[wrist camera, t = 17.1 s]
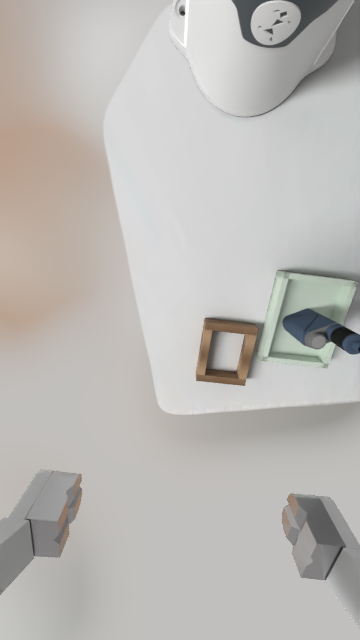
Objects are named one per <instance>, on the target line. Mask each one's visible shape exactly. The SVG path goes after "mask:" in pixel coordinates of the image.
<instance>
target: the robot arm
mask: <svg viewBox="0 0 360 640" xmlns="http://www.w3.org/2000/svg"><path fill="white" fill-rule="evenodd" d="M354 1H355V0H174V1H173V6H172V10H171V14H170V19H169V35H170V38H171V40H172V41H173V43H174V44H175V46H176V47H177V48H178V49H179V50H180V51H181V52H182V53H183V55H184V56H185V57H186V58H187V60H188V62H189V64H190V66H191V69H192V72H193V74H194V77H195V79H196V82H197V84H198V86H199V87H200V89H201V91H202V92H203V93H204V95H205V96H206V97H207V99H208V100H209V101H210V102H211V103H212V104H214V105H215V106H216V107H217V108H219V109H220V110H222V111H224V112H226V113H229V114H232V115H235V116H242V117H248V116H256V115H260V114H263V113H265V112H268V111H270V110H271V109H273V108H275V107H276V106H278V105H279V104H280V103H282V102H283V101H284V100H285V99H286V98H287V97H288V96H289V95H290V94H291V93H292V91H293V90H294V89H295V88H296V86H297V85H298V84H299V83H300V81H301V80H302V79H303V78H304V77H305V76H306V75H308V74H310V73H312V72H313V71H315V70H317V69H318V68H320V67H321V66H322V65H324V64H325V63H326V62H327V61H328V59H329V57H330V56H331V54H332V53H333V51H334V48H335V43H336V33H337V28H338V27H339V25H340V24H341V22H342V20H343V19H344V17H345V15H346V14H347V12H348V11H349V9H350V7H351V6H352V4H353V3H354ZM182 11H184V12H185V15H184V16H181V15H180V12H182ZM81 477H82V476H81V474H76V473H67V472H59V471H50V470H40V471H39V472H38V473H37V474H36V475H35V477H34V478H33V480H32V481H31V483H30V484H29V486H28V488H27V489H26V491H25V492H24V494H23V495H22V497H21V499H20V500H19V502H18V503H17V505H16V507H15V508H14V510H13V511H12V513H11V514H10V516H9V518H3V519H1V520H0V595H1V594H2V592H3V591H4V590H5V589H6V588H7V587H8V586H9V585H10V584H11V583H12V582H13V581H14V579H15V578H16V577H17V576H18V575H19V574H20V573H21V572H22V571H23V569H25V567H26V566H27V565H28V564H29V563H30V562H31V561H32V560H33V559H34V556H40V557H60V556H61V553H62V551H63V548H64V545H65V543H66V541H67V538H68V535H69V524H70V523H71V522H72V521H73V520H74V519H75V518H76V514H77V512H78V509H79V506H80V502H81V497H82V488H81V487H80V483H81V481H82V478H81ZM287 501H288V503H289V504H288V505H287V506H285V507H284V509H283V512H282V524H283V528H284V531H285V534H286V537H287V539H288V540H289V541H290V542H291V543H292V545H293V551H292V554H293V557H294V560H295V563H296V565H297V568H298V571H299V574H300V576H301V578H310V579H318V580H326V581H325V583H326V584H327V585H328V587H329V588H330V589H331V591H332V592H333V593H334V595H335V596H336V597H337V599H338V600H339V601H340V603H341V604H342V605H343V607H344V608H345V609H346V611H347V612H348V613H349V615H350V616H351V617H352V618H353V620H354V621H355V622H356V623H357V625H358V626H359V628H360V545H359V543H358V541H357V539H356V538H355V536H354V534H353V533H352V531H351V529H350V528H349V526H348V524H347V523H346V521H345V519H344V518H343V516H342V514H341V513H340V511H339V509H338V508H337V506H336V504H335V503H334V501H333V500H332V499H331V498H330V497H325V496H315V495H303V494H290V495H289V496H288V498H287Z"/></svg>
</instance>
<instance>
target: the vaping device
mask: <svg viewBox="0 0 360 640" xmlns="http://www.w3.org/2000/svg"><path fill="white" fill-rule="evenodd" d="M282 323H283V327H284V329H285V330H286V331H287V332H288V333H290V334H291V335H292V336H293V337H294V338H295V339H297V340H298V341H299V342H300V343H301V344H303V345H304V346H308V347H309V348H313V349H316V350H318V349H321V348H323V347H324V346H325V345H326V344H327V343H330V342H332V343H334V344H336V345H337V346H339V347H340V348H342V349H343V350H345V351H346V352H348V353H349V354H358V353H360V335H359V334H356V333H355V332H353V331H351V330H349V329H347V328H345V327H344V326H342V325H341V324H339V323H337V322H335V321H333V320H331V319H329V318H327V317H325V316H323V315H321V314H319V313H317V312H315V311H313V310H311V309H309V308H307V309H304V310H301V311H299V312H296V313H293V314H290V315H288V316H286V317H284V319H283V322H282Z"/></svg>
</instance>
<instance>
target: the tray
mask: <svg viewBox="0 0 360 640" xmlns="http://www.w3.org/2000/svg"><path fill="white" fill-rule="evenodd" d="M357 285H358V281H353V280H348V279H341V278H333V277H325V276H317V275H309V274H301V273H293V272H285V271H277V274H276V278H275V282H274V286H273V290H272V294H271V298H270V302H269V306H268V310H267V314H266V318H265V322H264V326H263V330H262V334H261V338H260V342H259V346H258V350H257V355H258V356H259V358H260V359H261V361H267V362H276V363H285V364H294V365H303V366H312V367H321V368H328V365H329V362H330V359H331V357H332V354H333V351H334V348H335V346H336V344H334V343H332V342H330V343H327V344H326V345H325V346H324V347H323V348H321V349H318V350H316V349H313V348H309V347H308V346H304V345H303V344H301V343H300V342H299V341H298V340H297V339H295V338H294V337H293V336H292V335H291V334H290V333H288V332H287V331H286V330H285V329H284V327H283V323H282V322H283V319H284V317H286V316H288V315H290V314H293V313H296V312H299V311H301V310H304V309H307V308H309V309H311V310H313V311H315V312H317V313H319V314H321V315H323V316H325V317H327V318H329V319H331V320H333V321H335V322H337V323H339V324H341V325H342V326H343V324H344V321H345V318H346V315H347V313H348V310H349V307H350V304H351V302H352V299H353V296H354V293H355V291H356V288H357Z"/></svg>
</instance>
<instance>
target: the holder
mask: <svg viewBox="0 0 360 640" xmlns="http://www.w3.org/2000/svg"><path fill="white" fill-rule="evenodd" d="M258 329H259V328H258V327H257V326H256V325H255V324H250V323H241V322H233V321H224V320H216V319H207V318H205V320H204V326H203V333H202V339H201V345H200V351H199V357H198V363H197V370H196V381H204V382H214V383H223V384H232V385H242V386H245V382H246V378H247V374H248V370H249V366H250V362H251V358H252V354H253V349H254V345H255V341H256V337H257V333H258ZM212 331H222V332H231V333H239V334H245V336H244V341H243V345H242V350H241V354H240V359H239V363H238V368H237V372H227V371H218V370H208V369H206V365H207V359H208V353H209V348H210V342H211V336H212Z"/></svg>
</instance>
